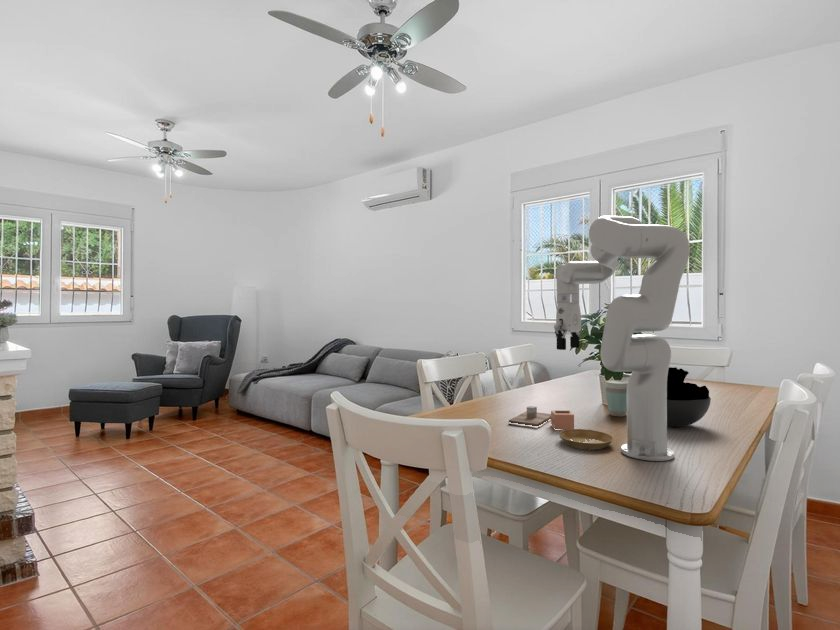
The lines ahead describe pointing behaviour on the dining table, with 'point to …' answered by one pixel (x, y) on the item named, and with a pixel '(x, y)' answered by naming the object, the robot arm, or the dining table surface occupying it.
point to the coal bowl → (685, 399)
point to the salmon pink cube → (562, 420)
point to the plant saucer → (585, 434)
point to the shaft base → (529, 420)
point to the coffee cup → (616, 397)
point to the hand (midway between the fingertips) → (568, 348)
